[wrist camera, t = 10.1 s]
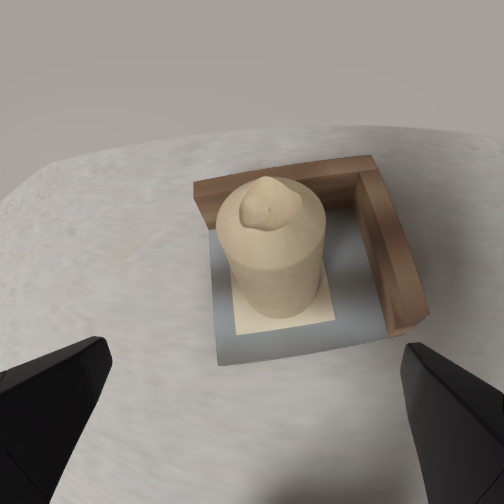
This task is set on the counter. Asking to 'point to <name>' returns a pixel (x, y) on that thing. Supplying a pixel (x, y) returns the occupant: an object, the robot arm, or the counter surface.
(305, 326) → the frame
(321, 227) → the candle
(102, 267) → the counter surface
